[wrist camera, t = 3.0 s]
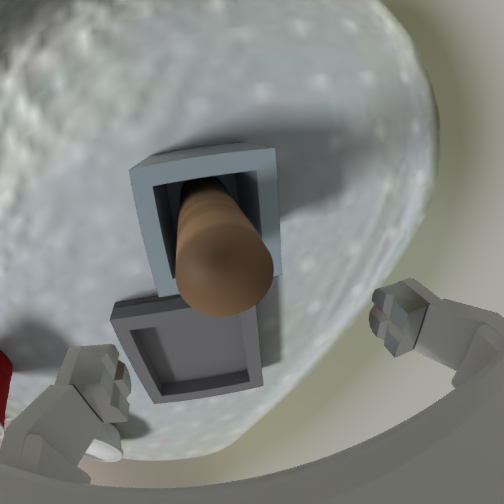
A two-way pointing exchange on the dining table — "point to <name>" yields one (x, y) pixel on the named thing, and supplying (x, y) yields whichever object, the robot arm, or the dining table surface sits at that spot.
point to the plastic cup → (4, 388)
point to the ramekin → (106, 445)
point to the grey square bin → (197, 166)
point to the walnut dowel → (218, 252)
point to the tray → (188, 348)
